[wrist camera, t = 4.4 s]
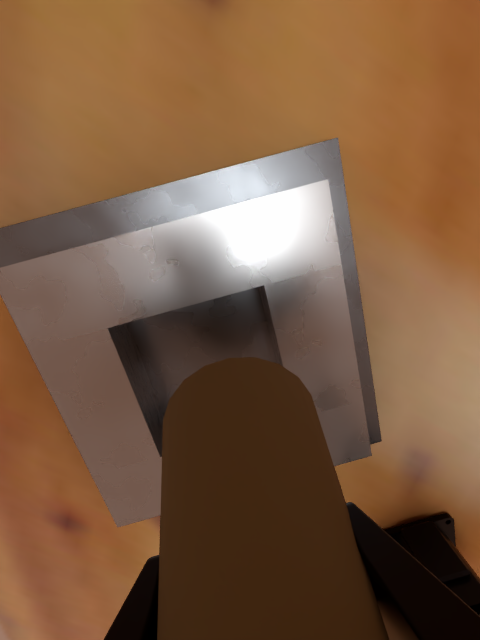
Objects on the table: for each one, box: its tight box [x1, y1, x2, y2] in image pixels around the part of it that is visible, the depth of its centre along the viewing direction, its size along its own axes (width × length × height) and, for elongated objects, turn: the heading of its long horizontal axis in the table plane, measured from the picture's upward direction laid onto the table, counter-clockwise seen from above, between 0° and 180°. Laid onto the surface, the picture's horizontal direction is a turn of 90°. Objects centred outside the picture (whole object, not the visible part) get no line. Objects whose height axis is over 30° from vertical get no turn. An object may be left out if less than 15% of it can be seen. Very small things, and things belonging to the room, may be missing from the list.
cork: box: [157, 357, 389, 640], centre depth 7 cm, size 6×6×11 cm
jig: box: [0, 138, 381, 527], centre depth 19 cm, size 20×20×4 cm
